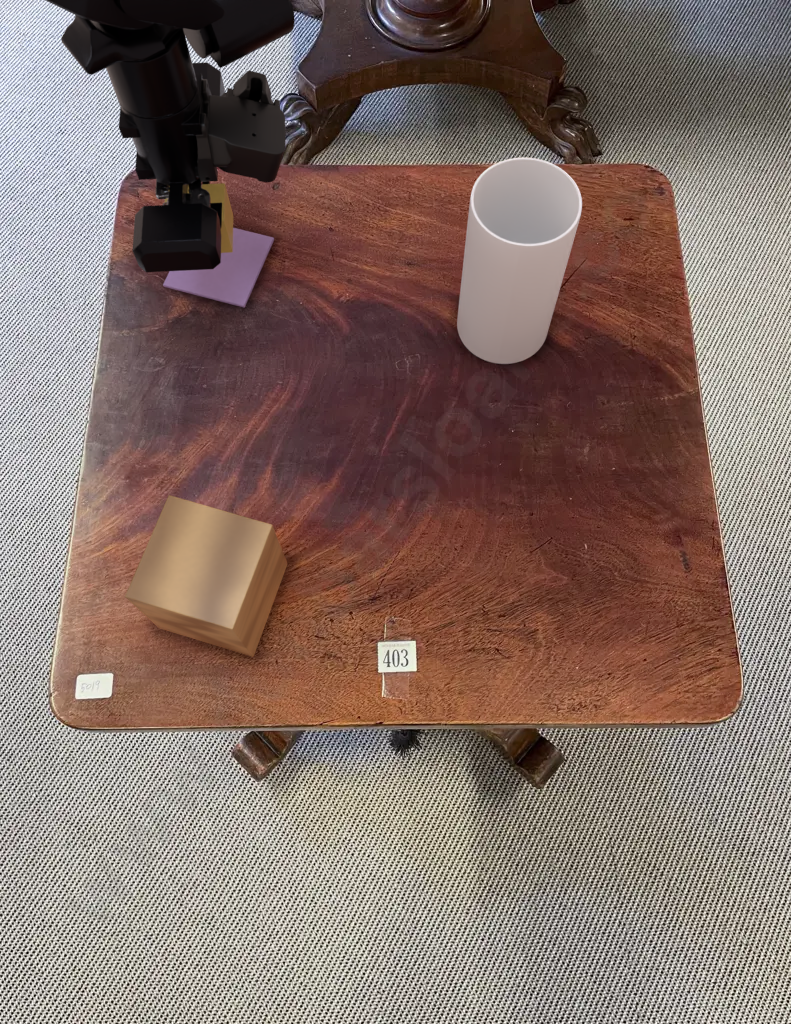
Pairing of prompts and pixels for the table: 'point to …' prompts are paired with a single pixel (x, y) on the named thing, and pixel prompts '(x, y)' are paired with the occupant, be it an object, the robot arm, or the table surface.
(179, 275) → the towel
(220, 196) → the cheese
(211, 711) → the table surface
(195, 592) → the stand
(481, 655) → the table surface
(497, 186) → the cup
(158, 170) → the robot arm
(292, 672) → the table surface
